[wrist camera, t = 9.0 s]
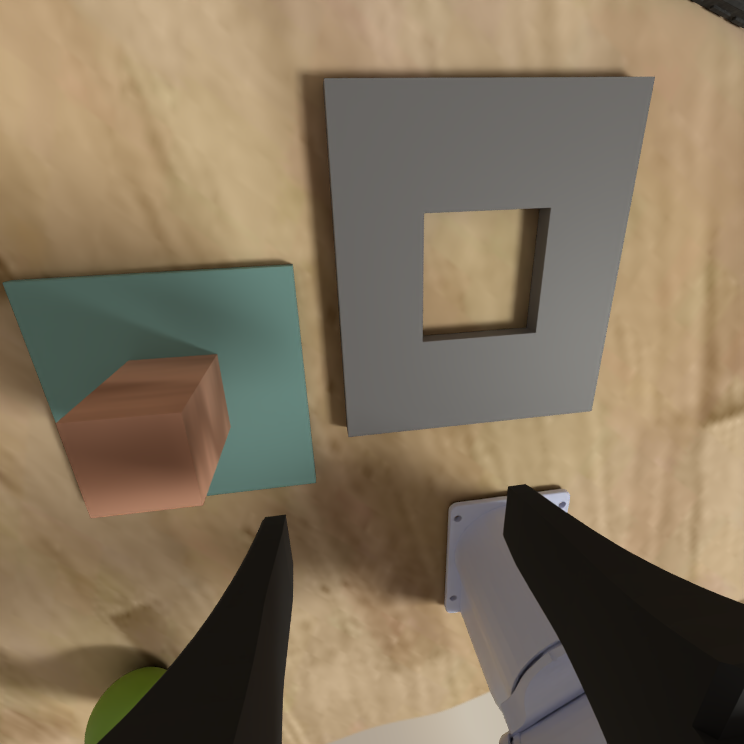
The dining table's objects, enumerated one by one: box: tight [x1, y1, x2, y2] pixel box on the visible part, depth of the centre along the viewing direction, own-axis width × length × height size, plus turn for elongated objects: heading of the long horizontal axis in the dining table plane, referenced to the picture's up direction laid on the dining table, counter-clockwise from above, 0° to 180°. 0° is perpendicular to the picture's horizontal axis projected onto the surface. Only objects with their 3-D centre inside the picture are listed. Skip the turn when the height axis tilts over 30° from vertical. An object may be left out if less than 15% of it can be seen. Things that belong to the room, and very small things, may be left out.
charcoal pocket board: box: [323, 77, 655, 437], centre depth 20 cm, size 16×14×1 cm
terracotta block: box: [55, 354, 231, 518], centre depth 17 cm, size 4×4×6 cm
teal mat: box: [3, 264, 316, 496], centre depth 20 cm, size 12×12×1 cm
